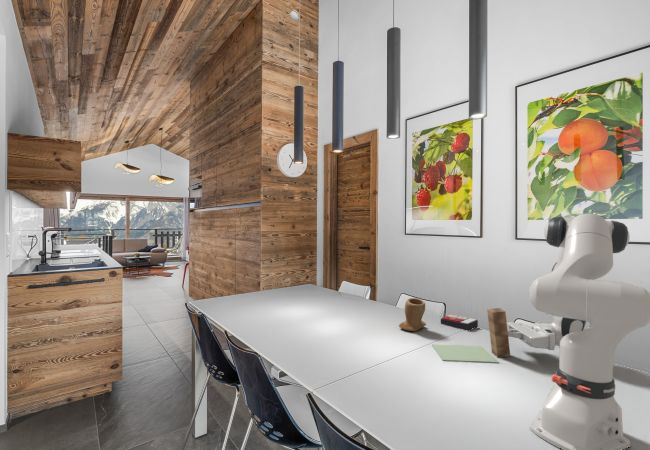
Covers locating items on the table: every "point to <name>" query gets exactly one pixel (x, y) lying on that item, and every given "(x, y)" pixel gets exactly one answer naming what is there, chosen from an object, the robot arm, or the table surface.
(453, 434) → the table surface
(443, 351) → the mat
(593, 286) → the robot arm
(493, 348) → the walnut pillar
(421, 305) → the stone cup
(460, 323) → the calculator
